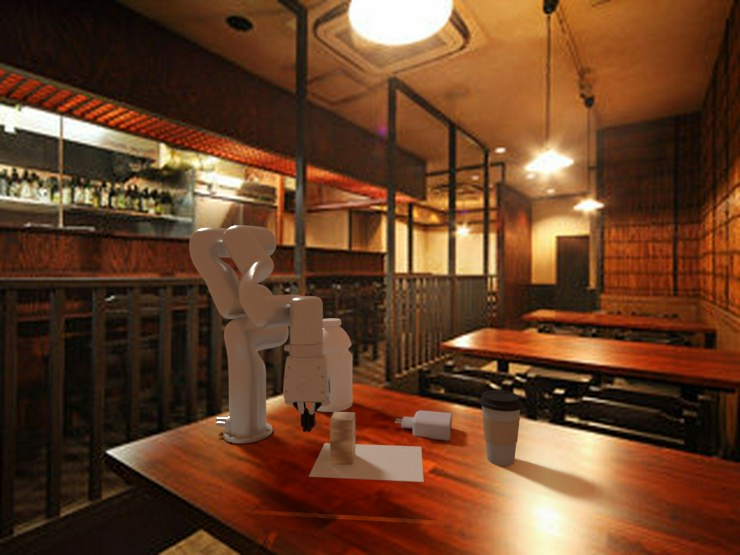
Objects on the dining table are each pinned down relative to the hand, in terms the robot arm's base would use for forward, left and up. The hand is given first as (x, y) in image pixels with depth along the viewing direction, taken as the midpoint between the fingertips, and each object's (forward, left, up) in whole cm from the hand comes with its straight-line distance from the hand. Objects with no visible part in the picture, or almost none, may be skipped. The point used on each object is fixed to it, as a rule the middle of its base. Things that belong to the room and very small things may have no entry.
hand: (308, 429), depth 91 cm
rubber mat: (+14, 0, -7) cm, 16 cm away
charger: (+27, +19, -8) cm, 34 cm away
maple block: (+8, 0, -7) cm, 11 cm away
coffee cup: (+44, +4, -8) cm, 45 cm away
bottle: (-2, +37, -8) cm, 38 cm away
